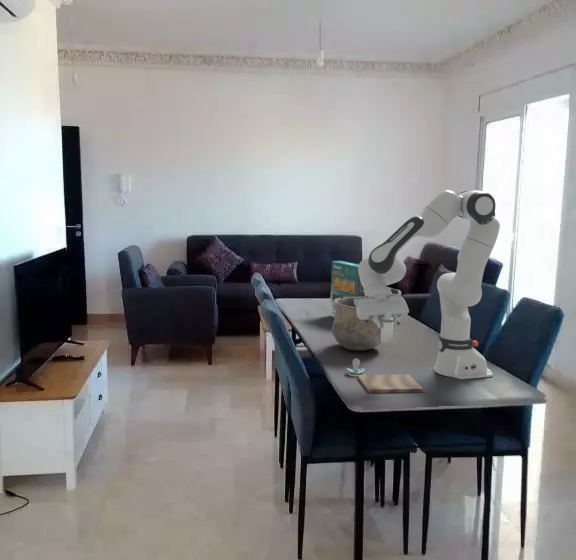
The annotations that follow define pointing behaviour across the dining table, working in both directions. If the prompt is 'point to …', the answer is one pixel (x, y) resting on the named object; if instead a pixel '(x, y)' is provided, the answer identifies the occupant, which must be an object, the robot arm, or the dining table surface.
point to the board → (389, 383)
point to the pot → (354, 327)
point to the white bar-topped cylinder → (387, 328)
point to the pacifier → (356, 369)
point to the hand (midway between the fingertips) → (388, 327)
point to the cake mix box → (344, 282)
